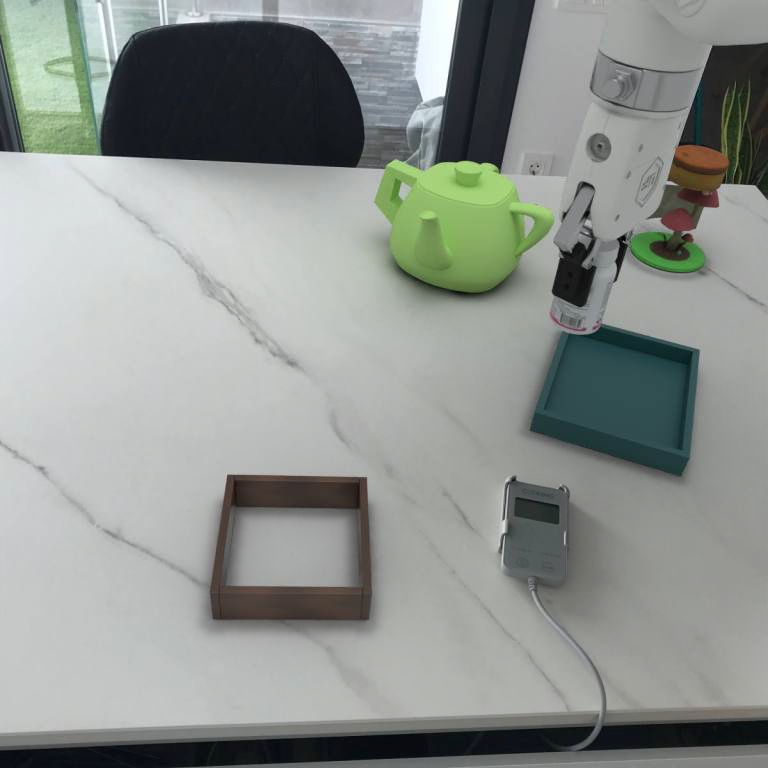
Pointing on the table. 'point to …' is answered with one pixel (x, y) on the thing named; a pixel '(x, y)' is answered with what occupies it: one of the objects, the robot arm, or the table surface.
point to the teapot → (458, 223)
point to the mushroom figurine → (683, 209)
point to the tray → (622, 396)
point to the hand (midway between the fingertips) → (584, 286)
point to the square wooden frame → (292, 598)
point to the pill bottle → (593, 311)
